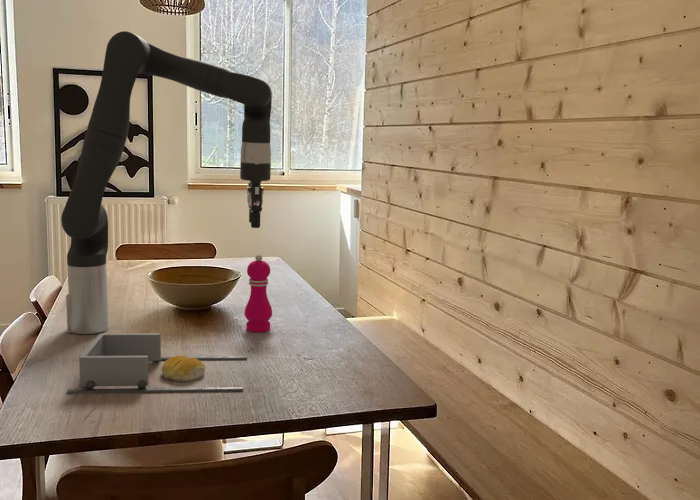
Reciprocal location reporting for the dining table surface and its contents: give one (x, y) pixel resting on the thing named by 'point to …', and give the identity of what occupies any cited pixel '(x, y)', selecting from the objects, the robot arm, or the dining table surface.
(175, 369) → the bread roll
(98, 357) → the frame
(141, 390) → the track
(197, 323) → the dining table surface
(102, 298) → the robot arm
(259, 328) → the pepper mill
